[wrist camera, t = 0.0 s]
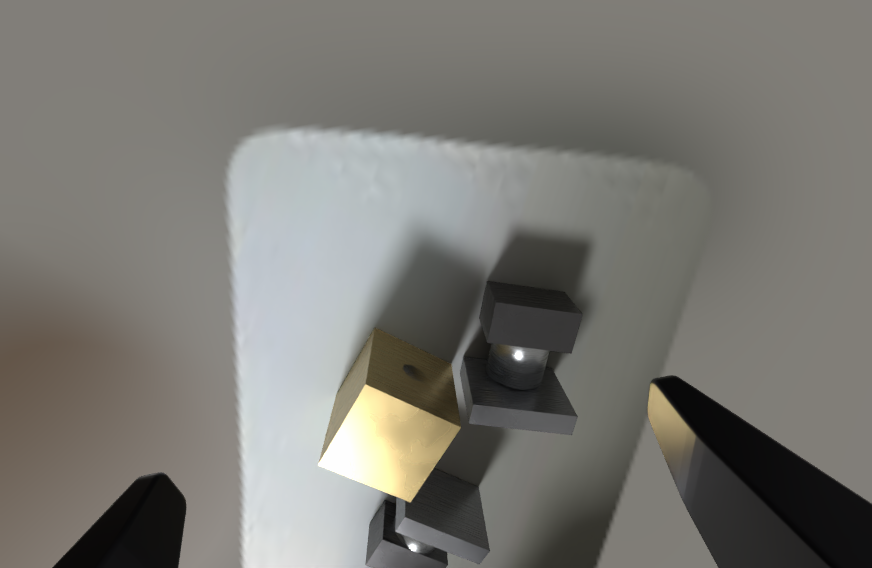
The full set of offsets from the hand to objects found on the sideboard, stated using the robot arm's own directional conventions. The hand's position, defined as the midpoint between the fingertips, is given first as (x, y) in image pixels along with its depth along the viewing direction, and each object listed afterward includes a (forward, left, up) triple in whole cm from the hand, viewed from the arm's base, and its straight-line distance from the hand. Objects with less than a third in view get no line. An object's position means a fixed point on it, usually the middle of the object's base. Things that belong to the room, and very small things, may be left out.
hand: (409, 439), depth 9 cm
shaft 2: (-14, -8, -15) cm, 23 cm away
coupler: (-7, -3, -16) cm, 17 cm away
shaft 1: (-2, -7, -15) cm, 17 cm away
